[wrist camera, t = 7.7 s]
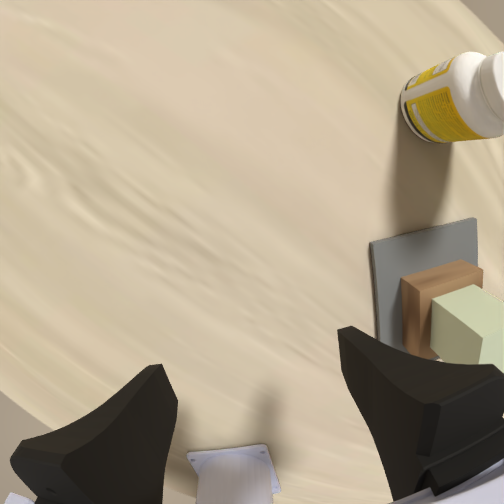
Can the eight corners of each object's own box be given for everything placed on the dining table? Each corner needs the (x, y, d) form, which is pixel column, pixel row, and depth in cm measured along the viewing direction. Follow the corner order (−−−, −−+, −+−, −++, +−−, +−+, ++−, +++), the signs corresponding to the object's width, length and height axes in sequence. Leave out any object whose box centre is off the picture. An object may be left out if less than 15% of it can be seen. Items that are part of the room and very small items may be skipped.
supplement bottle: (451, 152, 20) (543, 152, 10) (394, 130, 20) (482, 111, 10) (456, 91, 19) (541, 68, 9) (401, 66, 18) (480, 20, 9)
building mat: (468, 341, 24) (471, 343, 23) (378, 375, 24) (381, 379, 24) (472, 217, 21) (476, 218, 21) (369, 242, 22) (372, 244, 21)
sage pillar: (470, 330, 20) (515, 368, 14) (430, 346, 20) (472, 392, 14) (473, 283, 19) (526, 315, 13) (431, 298, 19) (482, 338, 13)
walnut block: (458, 323, 23) (477, 338, 20) (402, 344, 23) (418, 363, 20) (461, 259, 21) (483, 269, 18) (400, 277, 22) (419, 291, 19)
